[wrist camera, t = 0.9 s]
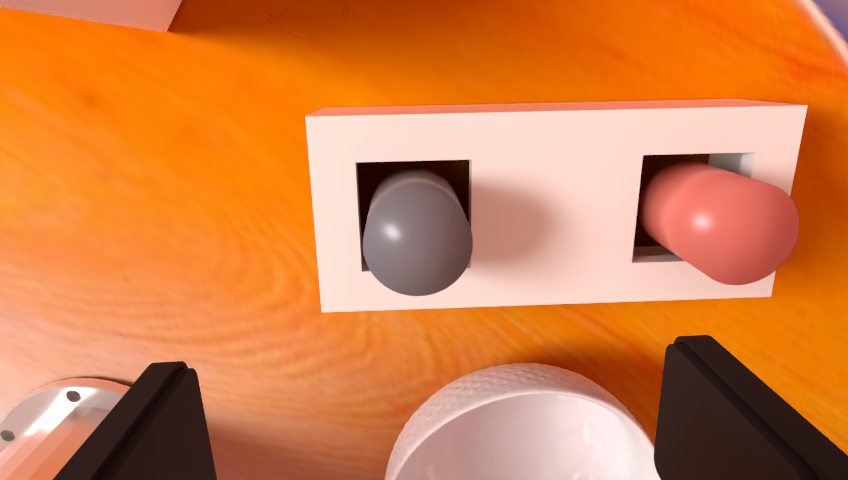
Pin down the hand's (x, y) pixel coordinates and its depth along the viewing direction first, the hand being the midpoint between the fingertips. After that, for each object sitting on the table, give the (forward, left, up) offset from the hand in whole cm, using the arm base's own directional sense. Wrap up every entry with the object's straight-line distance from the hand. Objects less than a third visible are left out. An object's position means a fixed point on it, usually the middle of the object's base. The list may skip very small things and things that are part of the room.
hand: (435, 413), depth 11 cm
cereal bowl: (-19, -6, -23) cm, 30 cm away
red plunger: (-1, -14, -18) cm, 23 cm away
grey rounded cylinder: (-1, 0, -18) cm, 18 cm away
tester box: (-1, -7, -23) cm, 24 cm away
